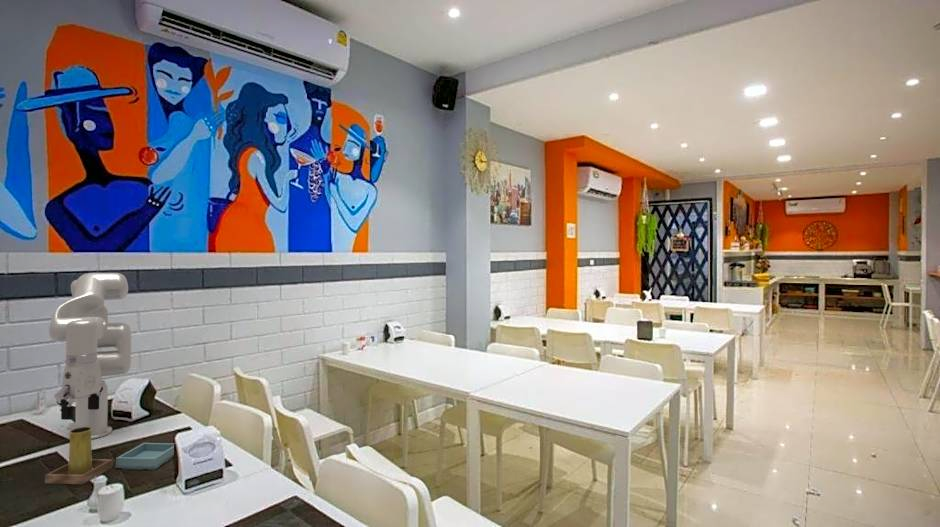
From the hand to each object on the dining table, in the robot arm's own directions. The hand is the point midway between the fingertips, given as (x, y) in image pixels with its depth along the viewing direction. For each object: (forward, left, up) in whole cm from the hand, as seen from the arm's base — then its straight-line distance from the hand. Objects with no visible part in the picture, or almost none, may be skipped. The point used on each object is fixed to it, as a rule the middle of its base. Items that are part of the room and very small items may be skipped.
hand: (80, 414), depth 146 cm
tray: (+14, +11, -19) cm, 26 cm away
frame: (0, 0, -19) cm, 19 cm away
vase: (0, 0, -20) cm, 20 cm away
